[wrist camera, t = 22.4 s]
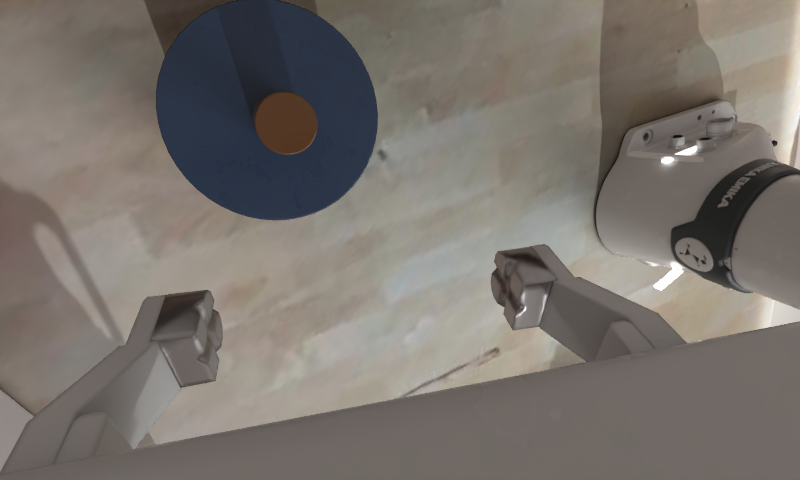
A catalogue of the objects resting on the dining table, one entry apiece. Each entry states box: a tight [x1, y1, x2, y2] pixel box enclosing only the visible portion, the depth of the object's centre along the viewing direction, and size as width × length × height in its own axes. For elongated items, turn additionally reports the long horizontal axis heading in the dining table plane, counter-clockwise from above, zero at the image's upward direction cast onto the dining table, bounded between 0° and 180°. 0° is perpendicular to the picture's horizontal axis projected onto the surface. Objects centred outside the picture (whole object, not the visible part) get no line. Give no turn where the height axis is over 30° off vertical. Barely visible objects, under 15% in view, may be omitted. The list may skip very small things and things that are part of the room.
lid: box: [156, 0, 378, 220], centre depth 22 cm, size 13×13×8 cm
